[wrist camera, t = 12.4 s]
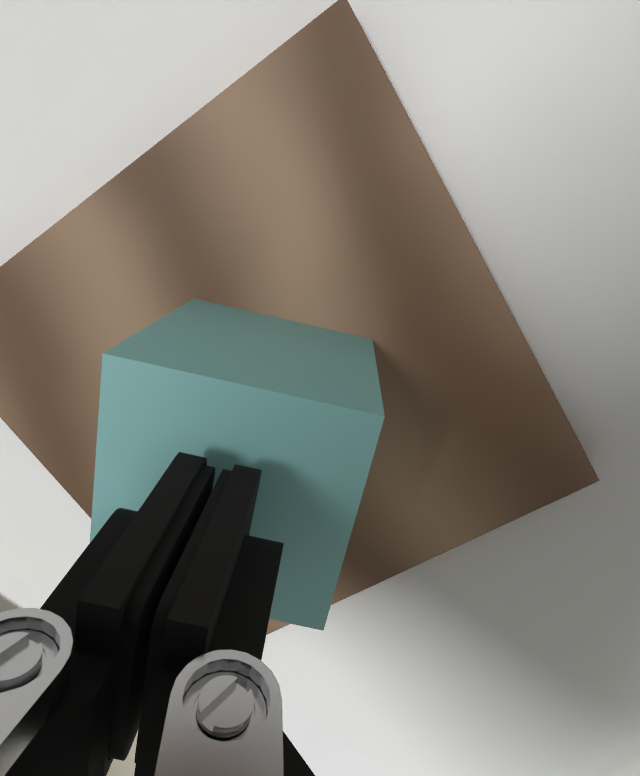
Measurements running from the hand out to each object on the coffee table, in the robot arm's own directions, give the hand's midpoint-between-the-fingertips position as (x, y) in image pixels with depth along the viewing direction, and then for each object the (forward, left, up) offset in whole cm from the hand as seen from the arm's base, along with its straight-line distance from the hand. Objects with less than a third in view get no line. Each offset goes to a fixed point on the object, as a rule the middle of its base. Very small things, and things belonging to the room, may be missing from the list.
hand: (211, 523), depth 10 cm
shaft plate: (0, 0, -8) cm, 8 cm away
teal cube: (0, 0, -7) cm, 7 cm away
